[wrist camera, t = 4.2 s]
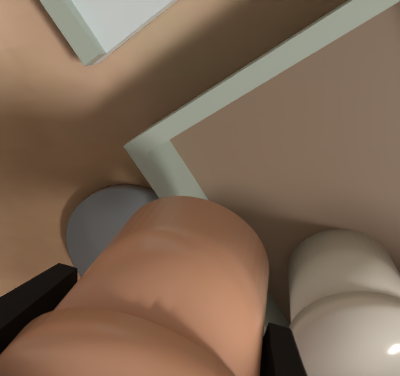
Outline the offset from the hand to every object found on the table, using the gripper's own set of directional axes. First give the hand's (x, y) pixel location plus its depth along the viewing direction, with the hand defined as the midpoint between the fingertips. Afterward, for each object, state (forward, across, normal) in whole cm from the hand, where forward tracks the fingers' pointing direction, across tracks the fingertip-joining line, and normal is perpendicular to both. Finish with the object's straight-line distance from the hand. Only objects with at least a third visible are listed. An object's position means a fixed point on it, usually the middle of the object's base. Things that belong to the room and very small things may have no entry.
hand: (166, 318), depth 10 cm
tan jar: (+2, 0, 0) cm, 2 cm away
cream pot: (+9, -8, +3) cm, 12 cm away
